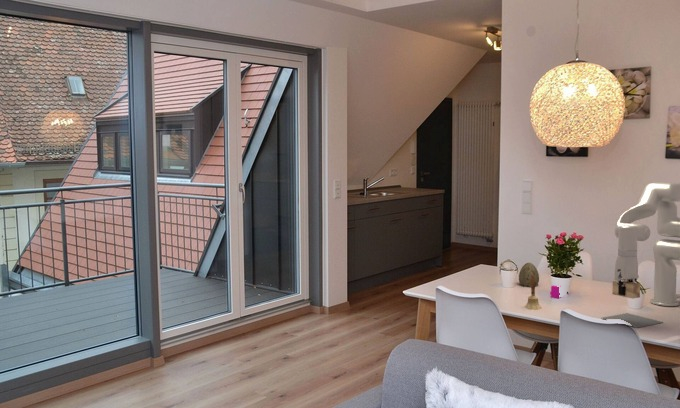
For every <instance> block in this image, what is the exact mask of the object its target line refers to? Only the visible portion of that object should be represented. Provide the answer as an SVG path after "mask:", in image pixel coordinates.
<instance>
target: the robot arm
mask: <svg viewBox="0 0 680 408" xmlns="http://www.w3.org/2000/svg"><path fill="white" fill-rule="evenodd" d="M676 202H680V182H669V181H668V182H666V181H665V182H664V181H663V182H660V181H659V182H651V183H647V184H646V185H645V187H644V189H643V190H642V192H641V195H640V197H639V199H638V202H637V204H636V205H634V206H632V207H630V208H629V209H627V210H626V211H624V212H623V213H622V214H621V215H620V217H619V218H618V220H617V222H616V225H615V227H614V235H615V237H616V238H617V241H618V245H617V247H618V248H617V249H618V250H617V256H616V258H615V259H616V260H615V266H614V278H613V279H614V280H613V281H616V282H617V284H618V294H619V295H623V296H625V291H626V287H625V282H626V281H628V282H634V283H637V281H638V279H639V278H640V276H639V263H638V242H645V241H647V240H648V239H649V238H650V236H651V228H650V227H649V226H648V225H646V224H643V223H634V222H636V221H639V220H643V219H646V218H651V217H653V216H655V214H656V215H657V217H656V218H657V219H656V230H657V234H658V235H660V237H661V236H663V237H666V239H665V238H661V239H660V238H659V239H657V240H655V241H654V243H653V246H652V250H653V251H652V252H653V258H654V276H653V277H654V278H653V279H654V281H653V282H654V286H653V298H651V299H650V301H649V303H651V304H653V305H658V306H663V307H677V306H679V305H680V302H679V301H678V300H677V299H680V293H679V294H677V275H678V274H677V272H678V271H677V269H678V268H677V266H676V264H675V262H674V261H680V240H678V239H679V238H680V217H678V206H677V204H676ZM667 237H668V238H667ZM669 238H678V239H669ZM621 280H622V281H623V282H621ZM623 296H622V297H623Z"/></svg>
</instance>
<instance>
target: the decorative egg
mask: <svg viewBox="0 0 680 408" xmlns="http://www.w3.org/2000/svg"><path fill="white" fill-rule="evenodd" d="M532 276H535V280H536V286H535V288H536V287H537V286H538V285H539V282H540V274H539V271H538V269H537V267H536V266H535V265H534V264H533V263H532V262H527V263H525V264H523V265H522V266H521V269H520V271H519V274H518V281H519V284H520V286H521V287H525V288H531V285H530V280H531V277H532Z"/></svg>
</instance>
